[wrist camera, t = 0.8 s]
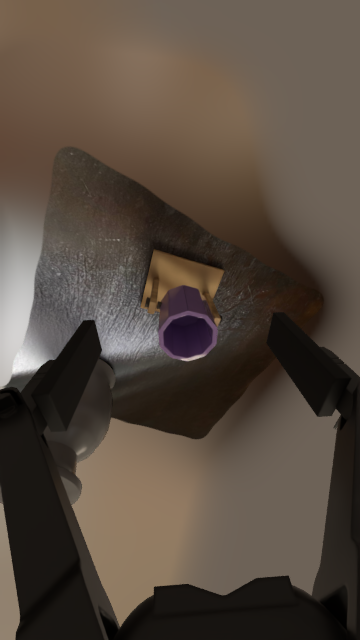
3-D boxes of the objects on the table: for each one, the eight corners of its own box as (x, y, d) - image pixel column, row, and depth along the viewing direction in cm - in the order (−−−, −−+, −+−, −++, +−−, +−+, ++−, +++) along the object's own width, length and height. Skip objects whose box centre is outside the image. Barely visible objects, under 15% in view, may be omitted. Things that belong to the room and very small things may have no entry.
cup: (163, 279, 32) (161, 303, 25) (216, 293, 34) (231, 321, 26) (152, 320, 36) (147, 353, 28) (201, 331, 38) (209, 365, 30)
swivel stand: (154, 249, 39) (149, 266, 28) (223, 269, 41) (241, 292, 31) (140, 305, 44) (132, 337, 34) (202, 320, 47) (212, 354, 36)
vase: (89, 405, 59) (42, 525, 37) (37, 369, 51) (-58, 491, 30) (134, 379, 55) (113, 496, 33) (86, 335, 47) (17, 449, 26)
